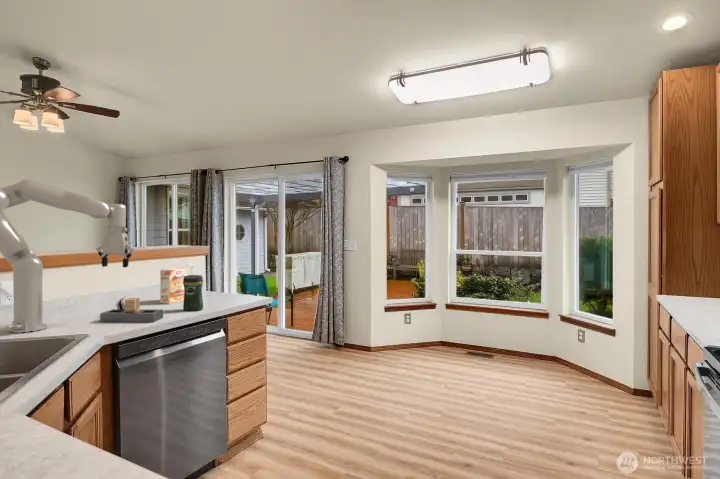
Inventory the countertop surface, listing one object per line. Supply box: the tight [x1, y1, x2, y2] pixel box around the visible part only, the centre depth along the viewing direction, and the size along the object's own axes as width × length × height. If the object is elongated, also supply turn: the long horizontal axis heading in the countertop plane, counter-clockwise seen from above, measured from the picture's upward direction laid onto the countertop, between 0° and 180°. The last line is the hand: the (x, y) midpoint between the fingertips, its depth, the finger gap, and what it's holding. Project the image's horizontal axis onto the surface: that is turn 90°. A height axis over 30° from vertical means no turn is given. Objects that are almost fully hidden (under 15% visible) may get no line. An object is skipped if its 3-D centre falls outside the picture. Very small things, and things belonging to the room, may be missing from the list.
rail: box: [99, 308, 164, 323], centre depth 197 cm, size 10×24×4 cm, turn 91°
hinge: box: [115, 295, 143, 309], centre depth 211 cm, size 17×5×10 cm, turn 9°
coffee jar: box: [182, 274, 204, 312], centre depth 222 cm, size 10×8×19 cm
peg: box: [125, 297, 141, 313], centre depth 197 cm, size 4×4×10 cm
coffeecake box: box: [159, 267, 189, 305], centre depth 246 cm, size 15×7×20 cm, turn 162°
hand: (115, 266), depth 197 cm, fingers open, 9 cm apart
